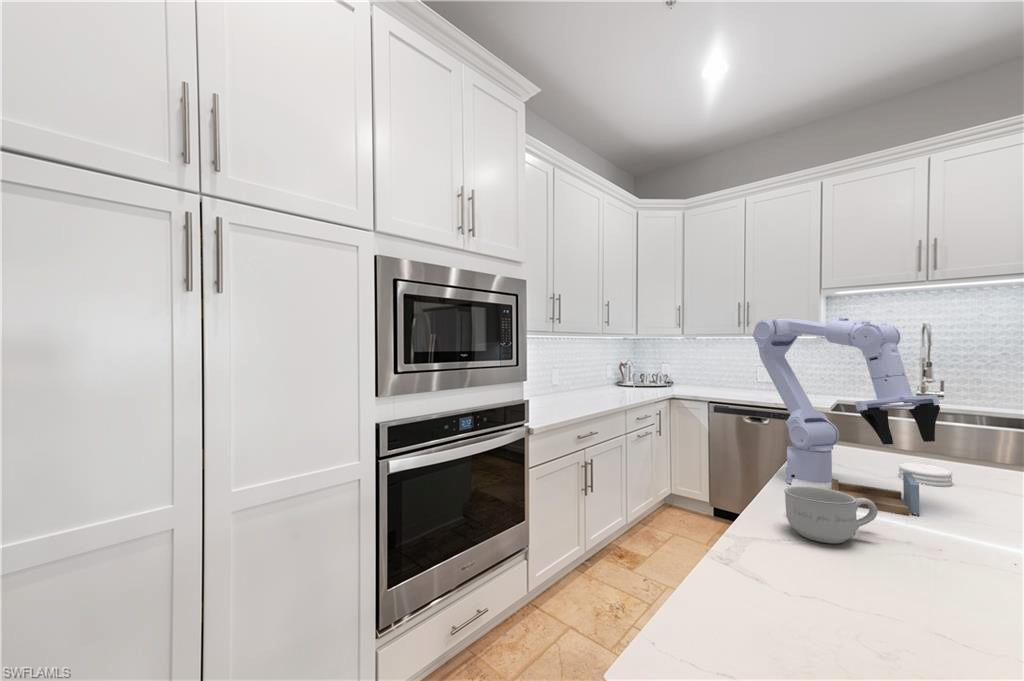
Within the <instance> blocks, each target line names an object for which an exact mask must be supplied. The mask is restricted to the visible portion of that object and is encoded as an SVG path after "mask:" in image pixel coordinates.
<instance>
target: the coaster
mask: <svg viewBox="0 0 1024 681" xmlns="http://www.w3.org/2000/svg"><path fill="white" fill-rule="evenodd" d="M903 472H906V473H911V474H912V476H913V477H914V479H915V480H916V481H917V483H921V484H920V485H923V484H925V485H924V486H929V485H932V486H931V487H942V488H943V487H944V488H945V487H951V486H953V477H952V476H953V473H952V472H951V470H949V469H946V468H944V467H940V466H935V465H931V464H930V465H929V464H923V463H917V462H905V463H903V462H902V463H899V465H898V477H899V476H900V477H902V478H903ZM900 477H899V478H900ZM902 478H901V479H902Z"/></svg>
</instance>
